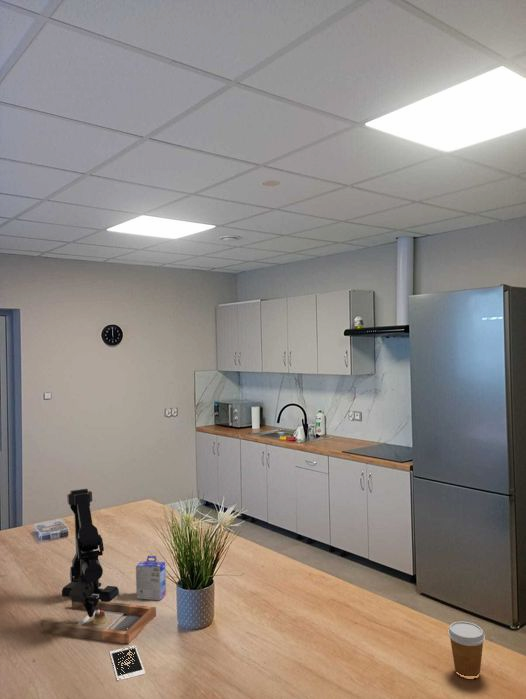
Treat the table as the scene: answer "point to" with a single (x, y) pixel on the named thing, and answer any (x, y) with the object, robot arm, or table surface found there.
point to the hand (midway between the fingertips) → (90, 616)
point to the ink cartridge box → (151, 579)
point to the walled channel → (120, 633)
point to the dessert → (101, 617)
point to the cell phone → (134, 668)
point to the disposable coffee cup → (466, 647)
